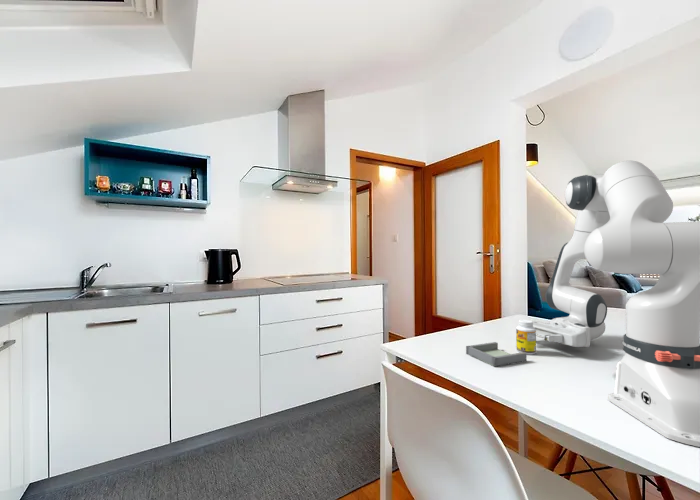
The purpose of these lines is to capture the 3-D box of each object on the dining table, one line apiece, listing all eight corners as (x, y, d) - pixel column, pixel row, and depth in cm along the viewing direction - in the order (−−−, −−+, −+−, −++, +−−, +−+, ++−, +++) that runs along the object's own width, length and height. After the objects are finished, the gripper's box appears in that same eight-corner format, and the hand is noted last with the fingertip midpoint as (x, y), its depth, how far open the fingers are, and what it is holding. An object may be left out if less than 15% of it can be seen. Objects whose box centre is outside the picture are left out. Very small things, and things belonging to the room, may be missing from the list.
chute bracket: (495, 349, 104) (495, 341, 104) (526, 361, 92) (526, 353, 92) (466, 353, 100) (466, 346, 100) (494, 367, 88) (494, 358, 88)
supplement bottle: (513, 349, 103) (512, 319, 103) (529, 349, 103) (529, 318, 103) (522, 355, 97) (522, 323, 97) (540, 355, 98) (539, 322, 97)
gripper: (536, 315, 116) (507, 318, 111) (594, 328, 96) (563, 332, 92) (536, 332, 116) (507, 336, 111) (595, 348, 96) (563, 353, 92)
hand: (533, 334), depth 101 cm, fingers open, 8 cm apart
